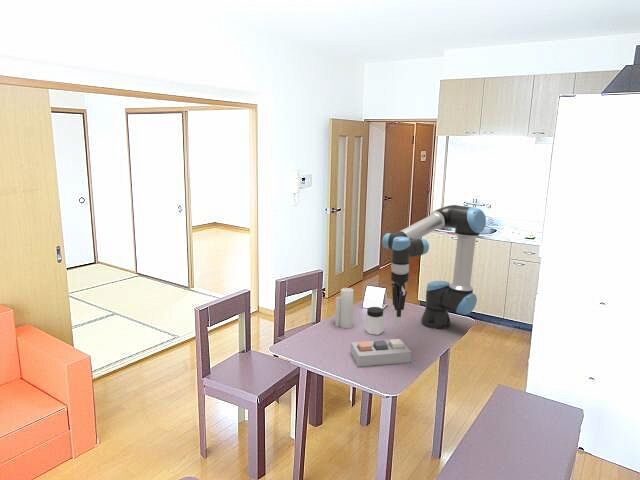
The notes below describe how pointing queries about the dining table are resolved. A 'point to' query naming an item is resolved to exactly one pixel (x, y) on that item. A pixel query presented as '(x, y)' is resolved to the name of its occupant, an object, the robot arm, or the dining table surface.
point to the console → (380, 355)
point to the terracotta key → (364, 346)
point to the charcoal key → (380, 345)
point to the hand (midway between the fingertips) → (397, 322)
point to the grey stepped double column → (344, 308)
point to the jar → (374, 320)
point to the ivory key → (396, 344)
